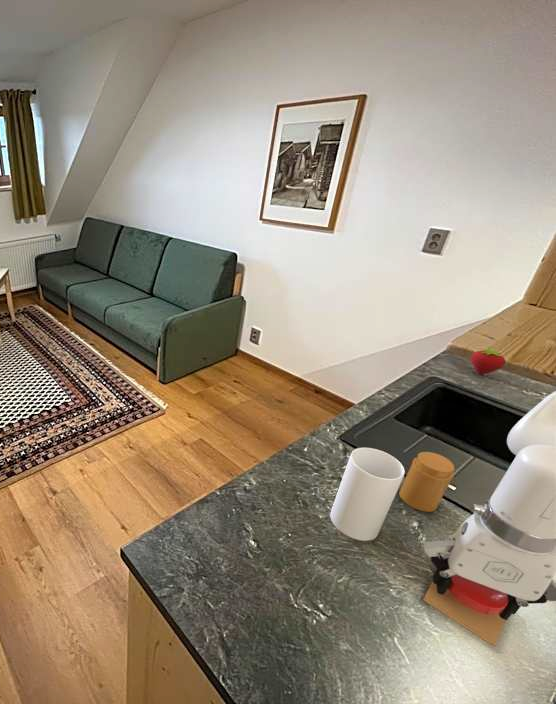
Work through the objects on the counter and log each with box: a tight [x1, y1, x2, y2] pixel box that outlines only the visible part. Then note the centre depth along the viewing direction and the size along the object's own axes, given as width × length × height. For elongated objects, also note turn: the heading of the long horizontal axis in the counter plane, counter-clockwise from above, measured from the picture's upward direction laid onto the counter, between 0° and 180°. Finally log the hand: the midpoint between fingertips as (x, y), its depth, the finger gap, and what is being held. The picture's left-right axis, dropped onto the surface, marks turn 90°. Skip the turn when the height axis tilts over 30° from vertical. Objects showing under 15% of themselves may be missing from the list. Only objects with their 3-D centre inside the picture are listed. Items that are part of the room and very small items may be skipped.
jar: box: [398, 451, 456, 513], centre depth 81 cm, size 6×6×11 cm
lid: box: [448, 575, 509, 615], centre depth 63 cm, size 7×7×2 cm
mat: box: [422, 580, 506, 648], centre depth 65 cm, size 9×9×1 cm
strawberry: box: [470, 346, 506, 376], centre depth 120 cm, size 6×8×10 cm
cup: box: [329, 447, 406, 542], centre depth 76 cm, size 8×8×16 cm
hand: (469, 597), depth 65 cm, fingers closed on lid, 7 cm apart
